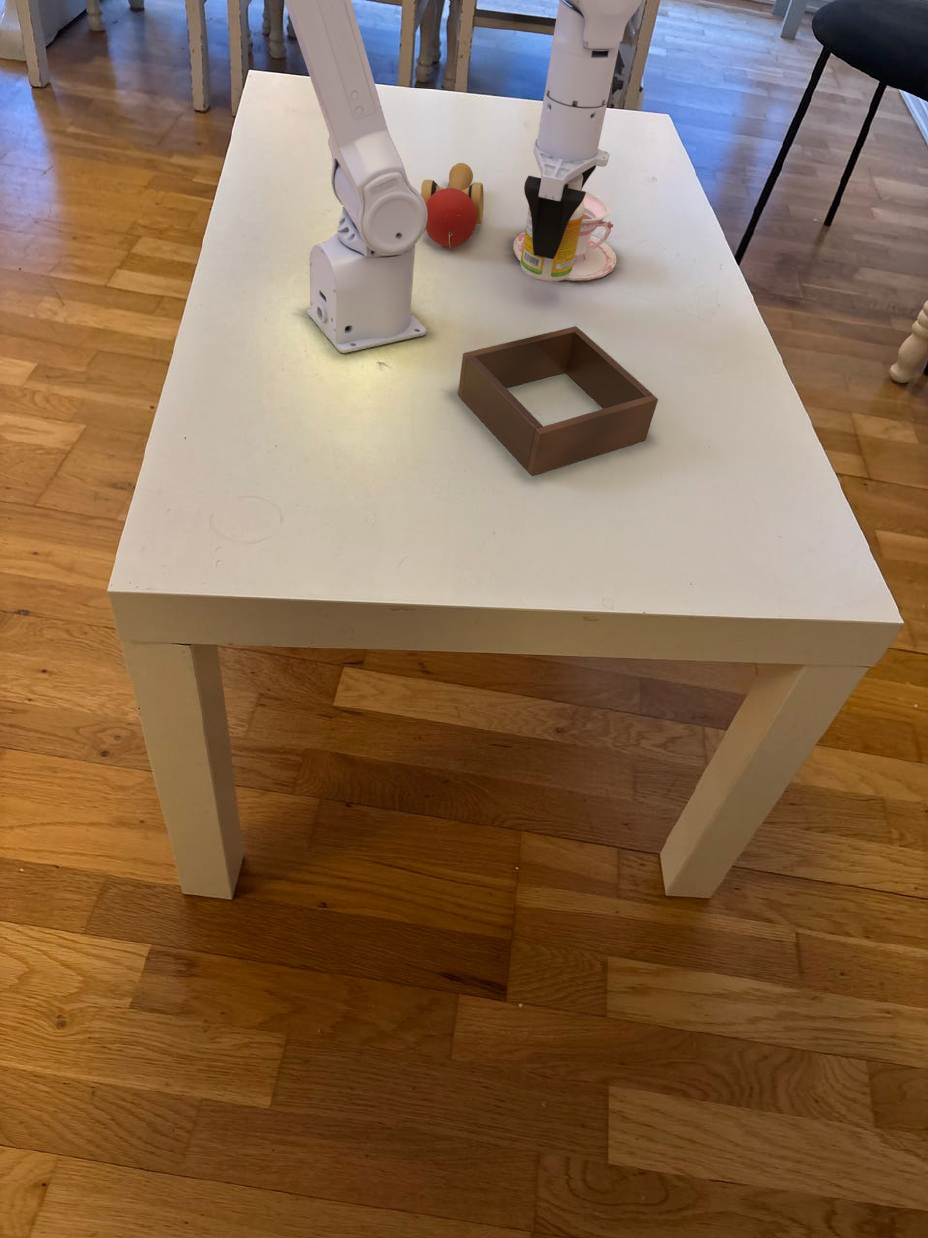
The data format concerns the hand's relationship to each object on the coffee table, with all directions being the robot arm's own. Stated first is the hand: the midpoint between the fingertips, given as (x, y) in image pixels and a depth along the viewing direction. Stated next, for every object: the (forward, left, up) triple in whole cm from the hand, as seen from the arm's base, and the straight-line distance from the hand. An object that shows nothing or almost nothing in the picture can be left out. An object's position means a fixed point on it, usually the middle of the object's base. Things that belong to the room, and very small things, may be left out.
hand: (549, 242), depth 92 cm
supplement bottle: (0, 0, -3) cm, 3 cm away
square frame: (-10, -17, -7) cm, 21 cm away
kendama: (+1, +20, -7) cm, 21 cm away
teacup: (+9, +8, -7) cm, 14 cm away
